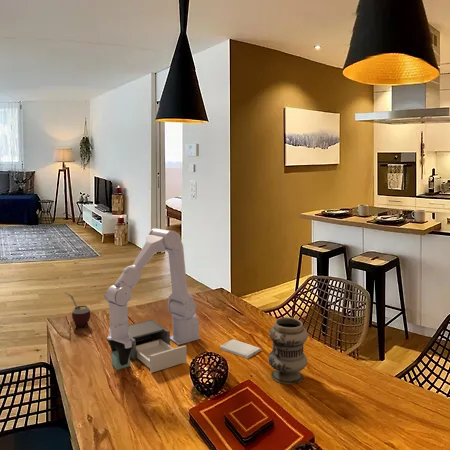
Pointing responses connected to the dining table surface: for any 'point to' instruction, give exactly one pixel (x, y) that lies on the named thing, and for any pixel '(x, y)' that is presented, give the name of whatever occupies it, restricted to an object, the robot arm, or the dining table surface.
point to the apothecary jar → (287, 350)
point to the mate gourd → (80, 315)
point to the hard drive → (240, 348)
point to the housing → (147, 333)
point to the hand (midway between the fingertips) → (120, 361)
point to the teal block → (118, 361)
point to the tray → (160, 355)
